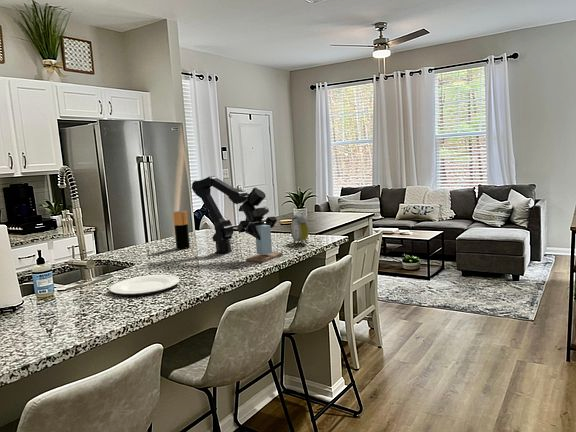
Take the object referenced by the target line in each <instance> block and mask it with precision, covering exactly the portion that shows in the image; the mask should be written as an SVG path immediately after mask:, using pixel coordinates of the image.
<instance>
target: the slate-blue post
mask: <svg viewBox="0 0 576 432" xmlns="http://www.w3.org/2000/svg"><path fill="white" fill-rule="evenodd" d="M255 228H256V230H257V232H258V234H259V236H260V240H258V239H256V238H255V245H256V254H257V255H258V254H262V255H264V254H269V253H272V252H273V248H272V247H273V245H272V231H271V230H272V228H270V225H259V226H255Z"/></svg>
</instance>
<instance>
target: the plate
mask: <svg viewBox="0 0 576 432" xmlns="http://www.w3.org/2000/svg"><path fill="white" fill-rule="evenodd" d="M180 281H181V279H180V278H179V277H178V276H176V275H170V274H152V275H151V274H150V275H149V274H148V275H142V276H136V277H132V278H131V277H130V278H127V279H123V280H121V281H117V282H115V283H113V284H112V285H111V286H110V287H109V288H108V289H109V292H110V293H113V294H115V295H123V296H124V295H125V296H140V295H141V296H143V295H149V294H156V293H158V292H162V291H165V290H167V289H170V288H173V287H174V286H176V285H177V284H179V283H180Z"/></svg>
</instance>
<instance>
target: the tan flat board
mask: <svg viewBox="0 0 576 432" xmlns="http://www.w3.org/2000/svg"><path fill="white" fill-rule="evenodd" d="M282 256H283V252H279V251H277V252H276V251H272V253H269V254H264V255H262V254H258V253H257V254H256V255H252V256H250V257H247V258H246V259H245V261H246V262H249V263H259V264H264V263H267V262H269V261H272V260H274V259H277V258H279V257H282Z"/></svg>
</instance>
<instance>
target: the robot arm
mask: <svg viewBox="0 0 576 432" xmlns="http://www.w3.org/2000/svg"><path fill="white" fill-rule="evenodd" d="M211 187H212V188H215V189H216V190H218V191H219V192H221V193H222V194H224V195H227V198H229V200H230V201H231V202H232V203H233V204H234V205H239V204H241V205H239V208H238V212H243V213H244V215H245V220H244V219H243V220H240V221H239V224H238V225H237V228H236V230H237V232H238V233H239V234H242V233H245V234H247V235H249V236H252V237H253V238H254V239H255V240H256V239H258V240H260V236H259V234H258V232H257V230H256V228H255V226H259V225H270V228H271V229H272V228H274V226H275V225H276V223H277V221H278V219H277V217H276V215H275V216H267V217H266V220H264V218H265V217H264V216H266V215H268V213H269V212H270V209H269V207H268V206H267V205H265V206H263V207H258V206H259V205H260V204H261V203H262V201H264V199H266V193H265V192H264V191H262V189H259V188H258V187H253V188H252V190H251V191H250V193H248V192H247V191H246V190H243V189H240V188H236V187H233V186H231V185H230V184H228V183H226V182H224V181H223V180H221V179H219V178H218V176H215V175H213V176H208V177H206V178H203V179H200V180H194V181H192V183H191V190H192V191H193V193H194V194H195V195H196V196H197V197H199V198H200V199H201V200H202V203H203V204H204V206H205V208H206V210H207V212H208V213H209V215H210V217H211V219H212V221H213V222H214V230H215V233H214V234H213V235H212V241H213V242H215V250H216V251H214V254H228V253H231V252H232V251H233V250H232V244H231V242H230V241H231V239H233V238H232V237H233V234H234V231H235V229H234V225H233V224H232V222H231V219H227V220H226V219H225V218H224V217H223V214H222V212H221V210H220V209H219V207H218V206H217V204H216V202H215V200H214V198H213V196H212V195H211V190H212V189H211ZM256 207H257V208H256Z"/></svg>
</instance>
